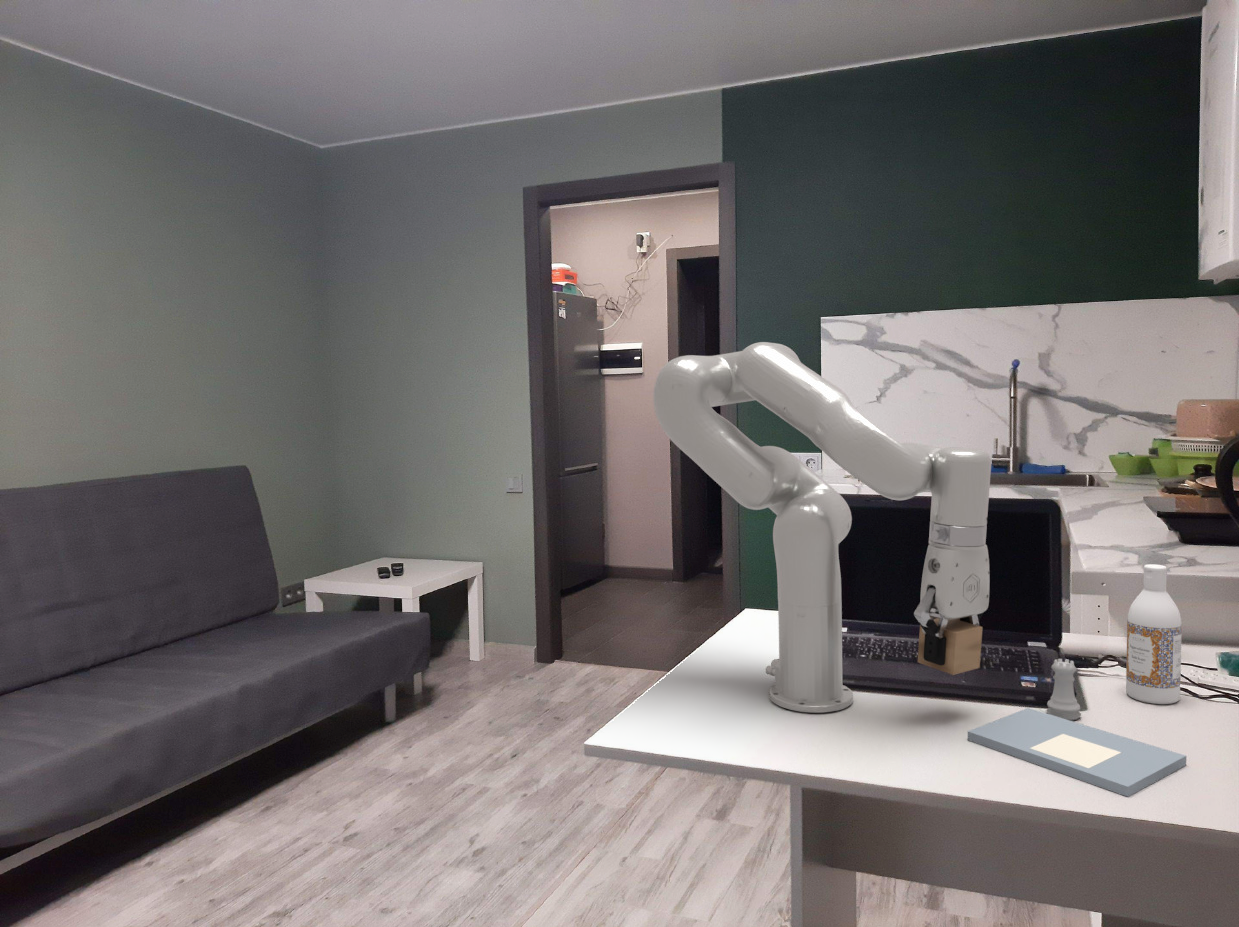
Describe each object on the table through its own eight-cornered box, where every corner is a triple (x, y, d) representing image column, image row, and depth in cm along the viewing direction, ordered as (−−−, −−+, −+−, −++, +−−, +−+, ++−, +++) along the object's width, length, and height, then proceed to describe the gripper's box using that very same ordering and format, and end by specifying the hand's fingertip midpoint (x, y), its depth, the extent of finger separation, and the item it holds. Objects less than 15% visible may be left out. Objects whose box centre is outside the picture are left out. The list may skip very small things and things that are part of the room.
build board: (967, 739, 120) (967, 730, 120) (1027, 715, 127) (1027, 707, 127) (1127, 796, 102) (1127, 786, 102) (1186, 764, 110) (1186, 755, 110)
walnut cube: (917, 662, 128) (920, 622, 128) (943, 655, 132) (946, 616, 131) (953, 674, 123) (956, 633, 123) (979, 667, 127) (982, 626, 126)
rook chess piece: (1085, 722, 124) (1086, 666, 124) (1051, 720, 125) (1051, 665, 125) (1075, 710, 129) (1076, 656, 128) (1042, 709, 130) (1043, 656, 129)
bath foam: (1115, 693, 135) (1117, 564, 133) (1146, 686, 138) (1149, 559, 136) (1158, 708, 129) (1161, 572, 127) (1190, 700, 131) (1193, 567, 130)
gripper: (941, 545, 118) (932, 677, 120) (1017, 534, 127) (1008, 656, 129) (895, 535, 124) (887, 660, 126) (971, 525, 133) (963, 642, 135)
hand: (948, 657), depth 127 cm, fingers closed on walnut cube, 6 cm apart
